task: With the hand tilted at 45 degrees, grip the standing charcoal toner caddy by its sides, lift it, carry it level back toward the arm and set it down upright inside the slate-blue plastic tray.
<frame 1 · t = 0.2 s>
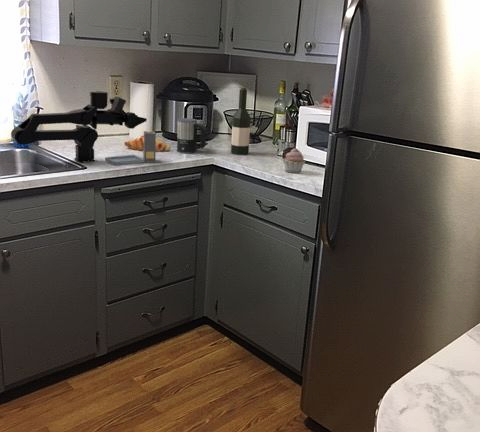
hand: (141, 118, 240), 17 cm above the worktop, tool horizontal, fingers open, 9 cm apart
caddy: (149, 160, 238), on the worktop
milk frother: (192, 151, 265), on the worktop
croissant: (147, 150, 260), on the worktop
cupcake: (293, 172, 234), on the worktop
wine bottle: (239, 153, 264), on the worktop
tray: (124, 161, 233), on the worktop
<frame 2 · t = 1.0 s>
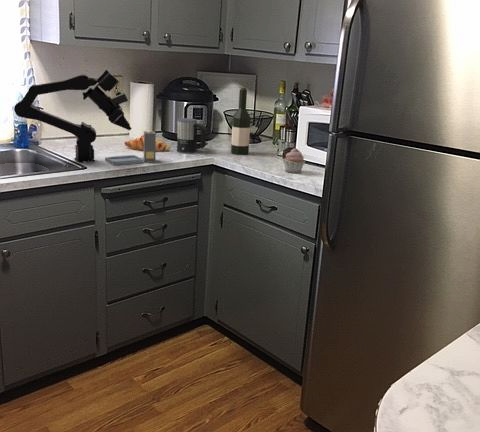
hand: (129, 127, 232), 14 cm above the worktop, tool tilted 45°, fingers open, 9 cm apart
nothing on the worktop moved.
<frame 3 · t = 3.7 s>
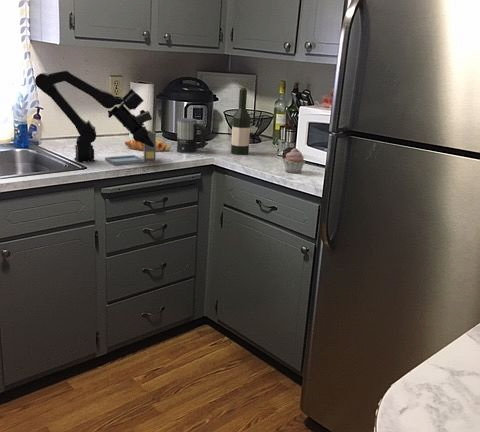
hand: (152, 145, 236), 7 cm above the worktop, tool tilted 45°, fingers closed on caddy, 5 cm apart
caddy: (149, 160, 238), on the worktop, touching gripper
everything else where it was.
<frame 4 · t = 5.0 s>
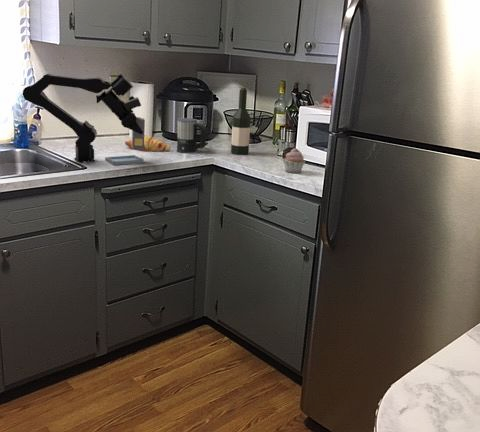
hand: (141, 132, 233), 12 cm above the worktop, tool tilted 45°, fingers closed on caddy, 5 cm apart
caddy: (137, 148, 234), point 6 cm above the worktop, touching gripper
everything else where it was.
when the fingers open (8 cm above the worktop, at t = 6.8 s): caddy drops 1 cm, resting on tray.
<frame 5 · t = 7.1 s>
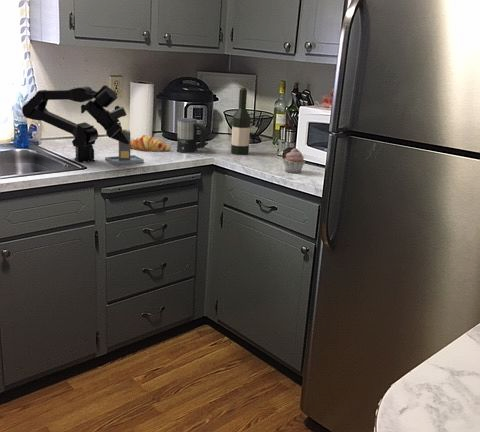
hand: (127, 141, 231), 8 cm above the worktop, tool tilted 45°, fingers open, 8 cm apart
caddy: (124, 160, 233), point 1 cm above the worktop, touching tray
everything else where it was.
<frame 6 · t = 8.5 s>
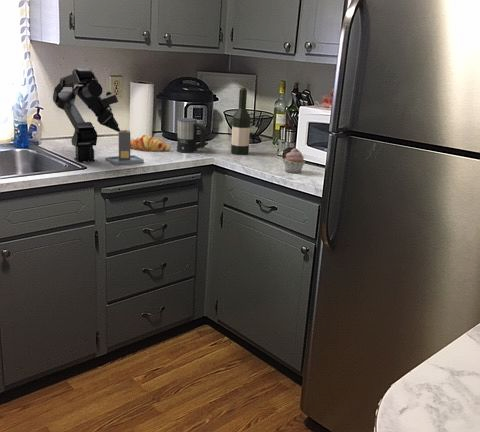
hand: (118, 128, 229), 14 cm above the worktop, tool tilted 45°, fingers open, 9 cm apart
nothing on the worktop moved.
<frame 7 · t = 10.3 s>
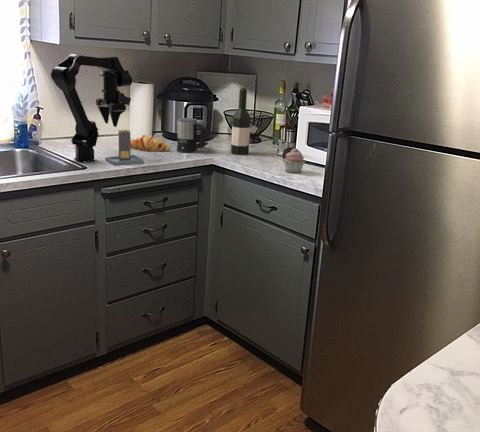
hand: (110, 125, 240), 13 cm above the worktop, tool pointing down, fingers open, 9 cm apart
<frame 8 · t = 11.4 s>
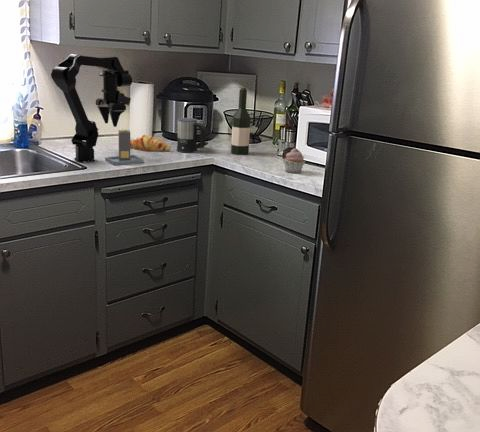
hand: (110, 125, 240), 13 cm above the worktop, tool pointing down, fingers open, 9 cm apart
at the end: caddy inside the target area on the tray (0.0 cm from its centre), point 0.6 cm above the tray's base; caddy tilted 0°; the gripper is holding nothing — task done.
